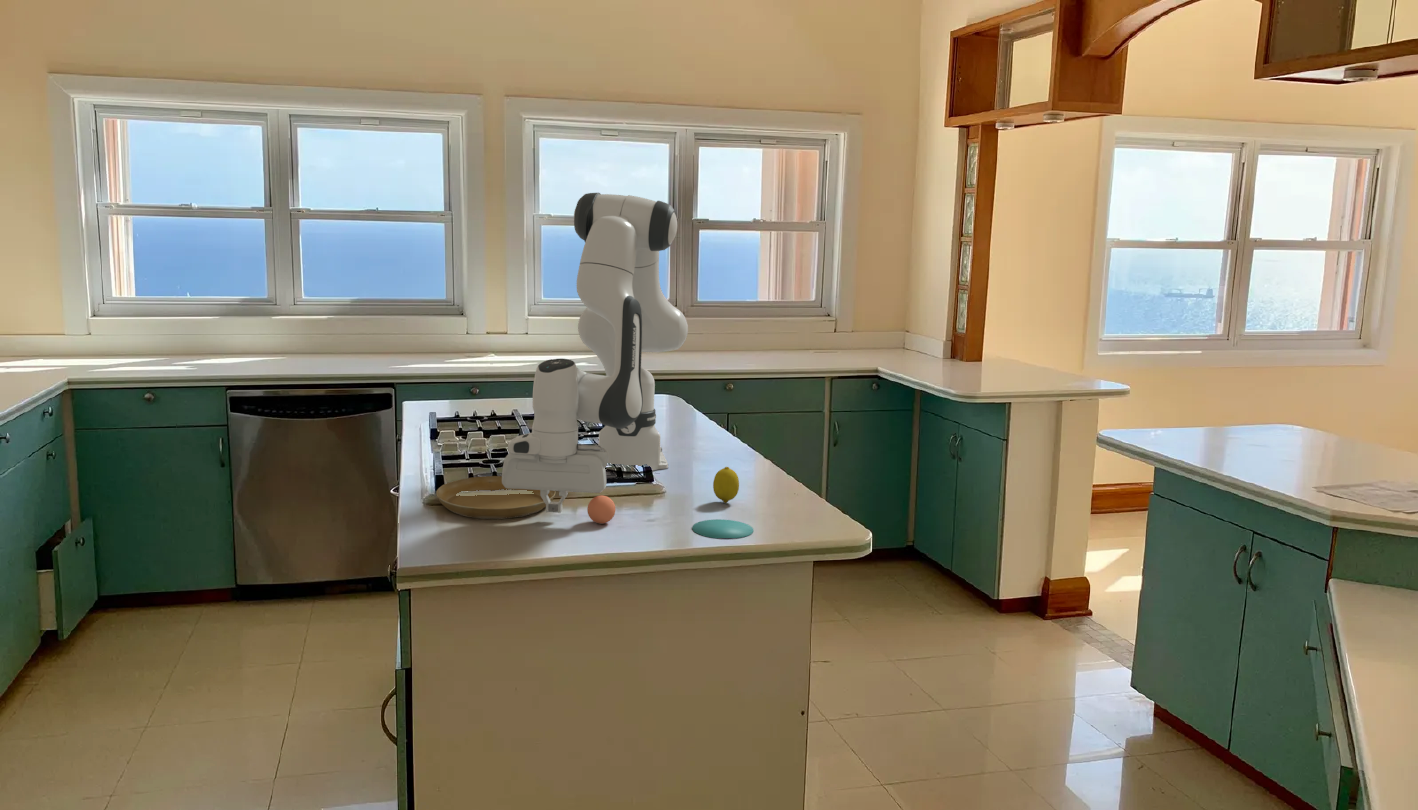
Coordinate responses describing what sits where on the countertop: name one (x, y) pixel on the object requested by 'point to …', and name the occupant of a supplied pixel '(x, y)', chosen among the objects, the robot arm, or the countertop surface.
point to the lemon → (726, 484)
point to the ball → (601, 509)
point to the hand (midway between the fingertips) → (553, 511)
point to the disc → (722, 529)
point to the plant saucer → (489, 499)
